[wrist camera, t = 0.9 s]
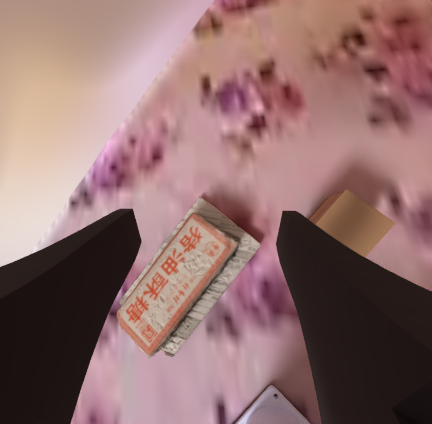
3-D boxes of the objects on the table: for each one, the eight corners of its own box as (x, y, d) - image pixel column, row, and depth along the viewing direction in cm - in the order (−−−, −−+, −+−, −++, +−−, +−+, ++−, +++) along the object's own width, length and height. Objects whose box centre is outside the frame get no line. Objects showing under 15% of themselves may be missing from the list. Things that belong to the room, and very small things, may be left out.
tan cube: (364, 225, 22) (395, 223, 18) (335, 258, 23) (357, 265, 18) (327, 198, 24) (346, 188, 19) (299, 229, 24) (311, 228, 19)
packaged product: (157, 381, 21) (97, 313, 23) (175, 353, 25) (124, 299, 28) (263, 245, 20) (191, 189, 22) (262, 243, 25) (202, 197, 27)
